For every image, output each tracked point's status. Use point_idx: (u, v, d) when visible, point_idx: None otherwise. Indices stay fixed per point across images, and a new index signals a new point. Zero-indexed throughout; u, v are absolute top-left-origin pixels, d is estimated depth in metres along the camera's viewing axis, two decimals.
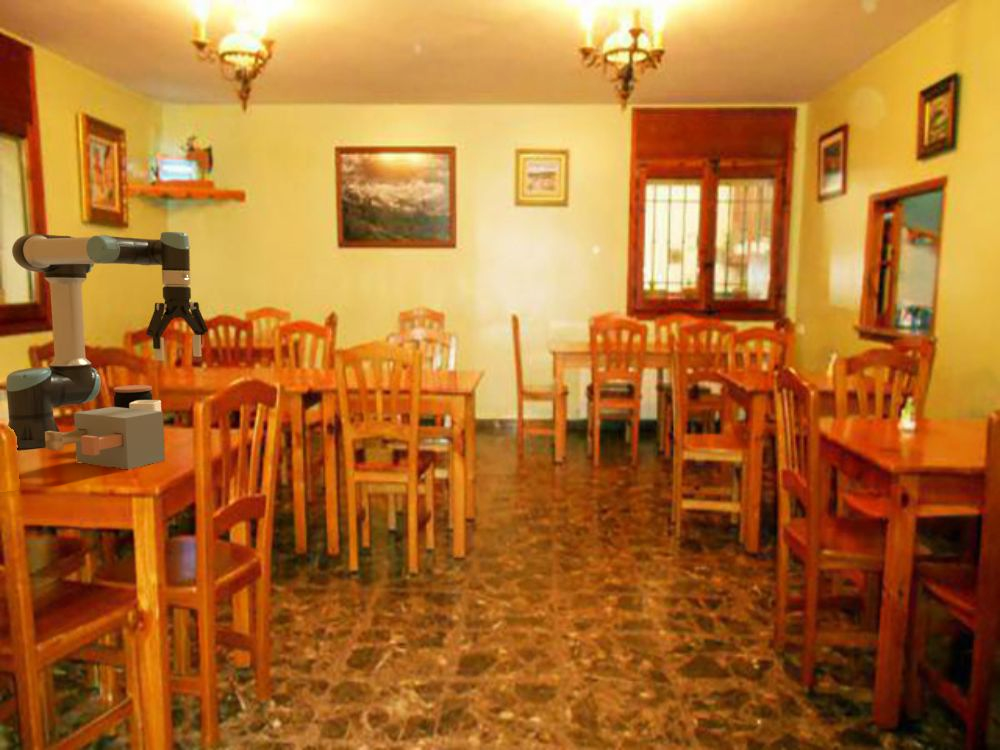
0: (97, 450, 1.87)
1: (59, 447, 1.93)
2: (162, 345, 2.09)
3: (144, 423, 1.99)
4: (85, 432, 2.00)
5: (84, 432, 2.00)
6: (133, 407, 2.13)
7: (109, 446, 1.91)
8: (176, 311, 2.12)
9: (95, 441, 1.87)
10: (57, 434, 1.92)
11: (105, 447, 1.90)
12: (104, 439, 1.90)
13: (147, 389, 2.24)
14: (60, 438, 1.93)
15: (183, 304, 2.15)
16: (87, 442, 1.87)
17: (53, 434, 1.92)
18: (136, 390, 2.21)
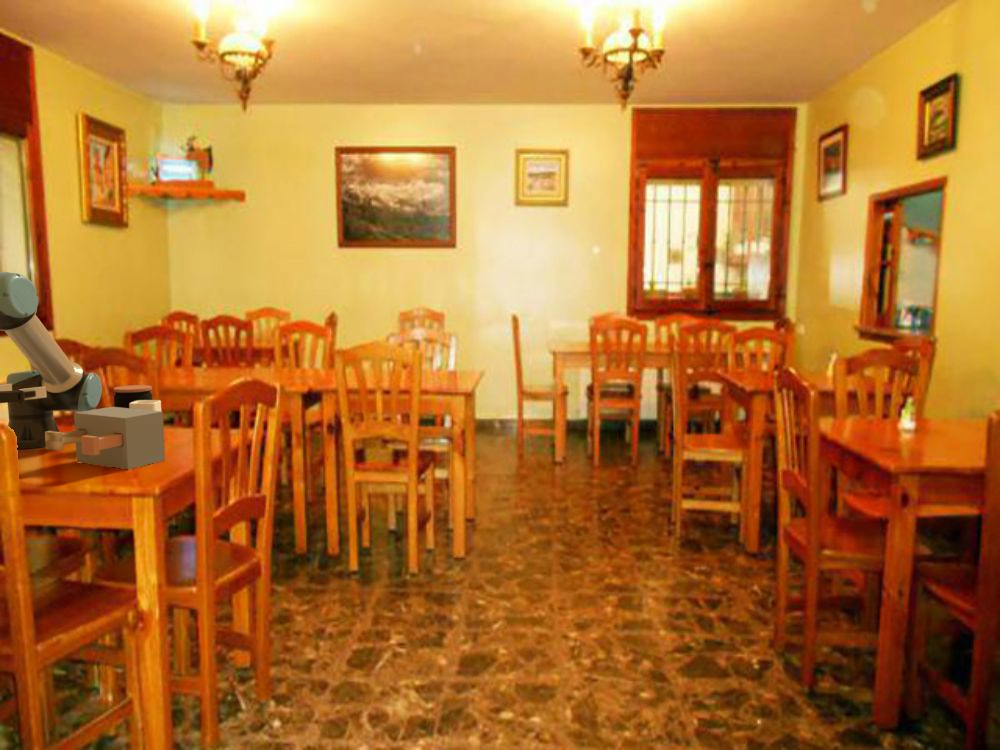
0: (97, 450, 1.87)
1: (59, 447, 1.93)
2: None
3: (144, 423, 1.99)
4: (85, 432, 2.00)
5: (84, 432, 2.00)
6: (133, 407, 2.13)
7: (109, 446, 1.91)
8: None
9: (95, 441, 1.87)
10: (57, 434, 1.92)
11: (105, 447, 1.90)
12: (104, 439, 1.90)
13: (147, 389, 2.24)
14: (60, 438, 1.93)
15: None
16: (87, 442, 1.87)
17: (53, 434, 1.92)
18: (136, 390, 2.21)
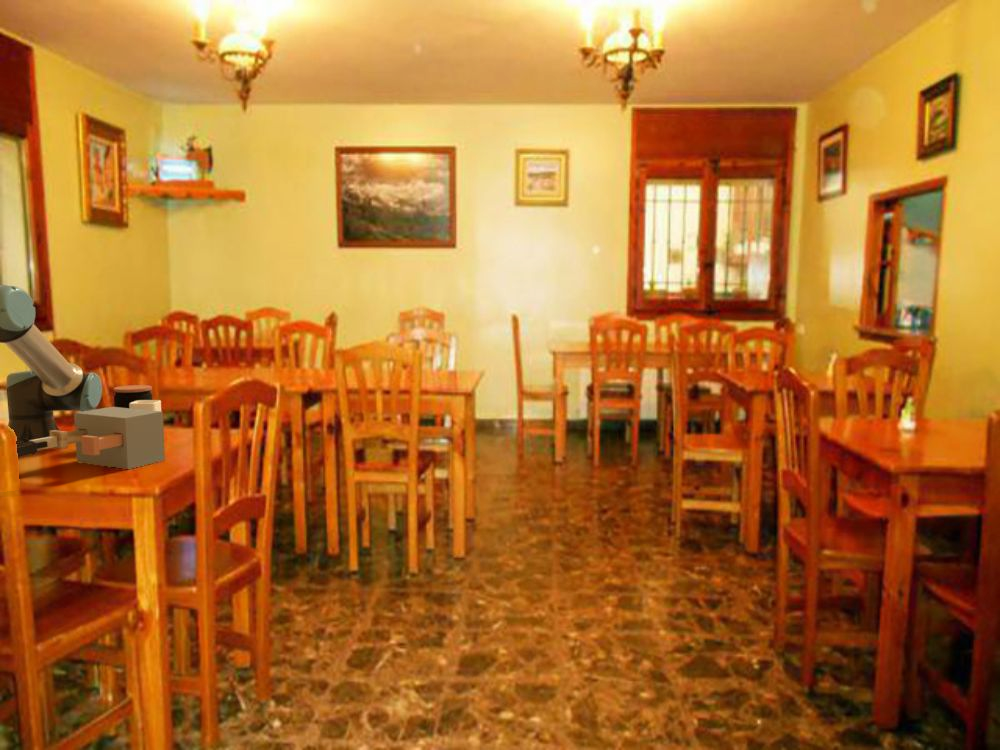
0: (97, 450, 1.87)
1: (64, 446, 1.94)
2: None
3: (144, 423, 1.99)
4: None
5: None
6: (133, 407, 2.13)
7: (109, 446, 1.91)
8: None
9: (95, 441, 1.87)
10: (62, 433, 1.93)
11: (105, 447, 1.90)
12: (104, 439, 1.90)
13: (147, 389, 2.24)
14: (65, 437, 1.94)
15: None
16: (87, 442, 1.87)
17: (58, 433, 1.93)
18: (136, 390, 2.21)
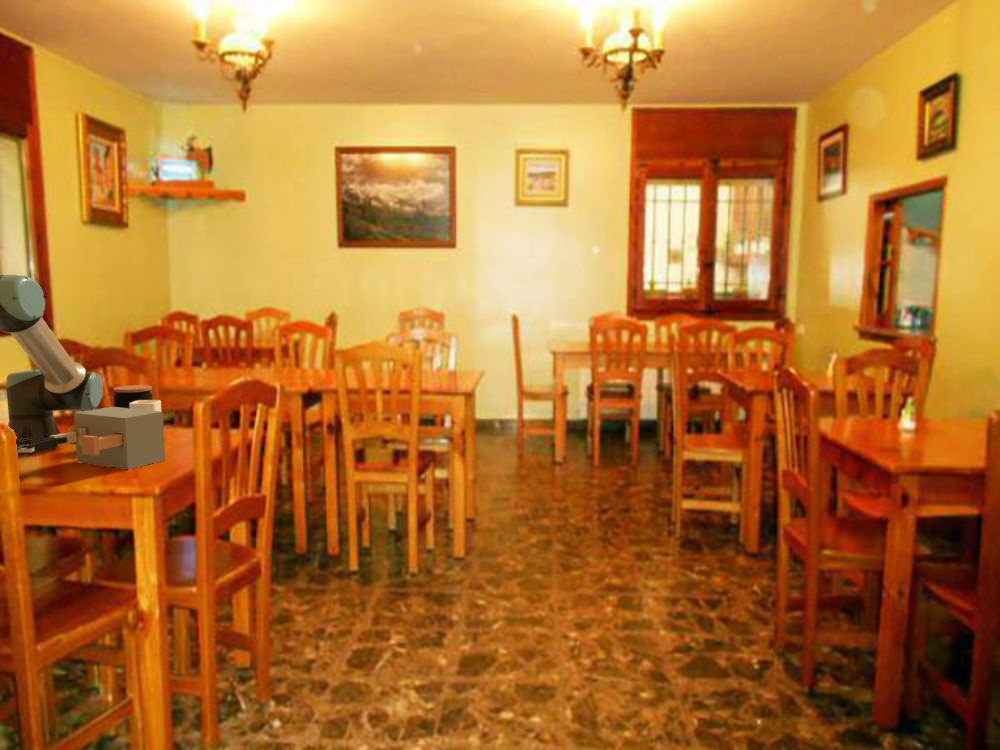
0: (97, 450, 1.87)
1: None
2: None
3: (144, 423, 1.99)
4: None
5: None
6: (133, 407, 2.13)
7: (109, 446, 1.91)
8: None
9: (95, 441, 1.87)
10: (81, 430, 1.98)
11: (105, 447, 1.90)
12: (104, 439, 1.90)
13: (147, 389, 2.24)
14: (84, 434, 1.99)
15: None
16: (87, 442, 1.87)
17: (77, 430, 1.98)
18: (136, 390, 2.21)
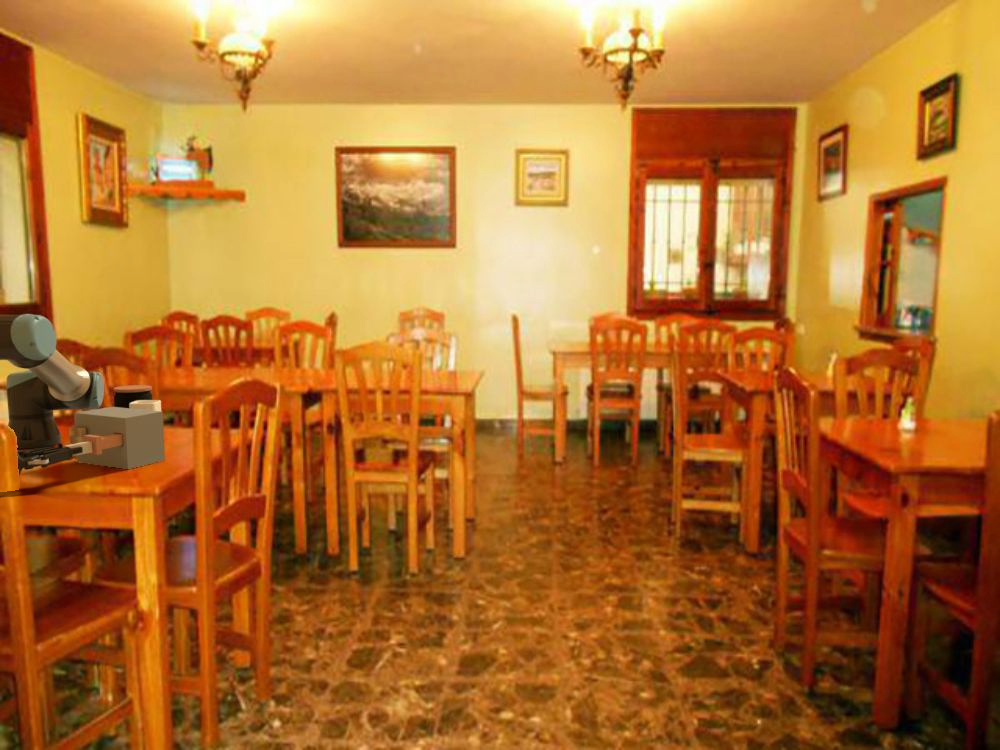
0: (100, 449, 1.88)
1: None
2: None
3: (144, 423, 1.99)
4: None
5: None
6: (133, 407, 2.13)
7: (112, 445, 1.92)
8: None
9: (98, 440, 1.87)
10: (81, 430, 1.98)
11: (108, 446, 1.91)
12: (107, 438, 1.91)
13: (147, 389, 2.24)
14: (84, 434, 1.99)
15: None
16: None
17: (77, 430, 1.98)
18: (136, 390, 2.21)
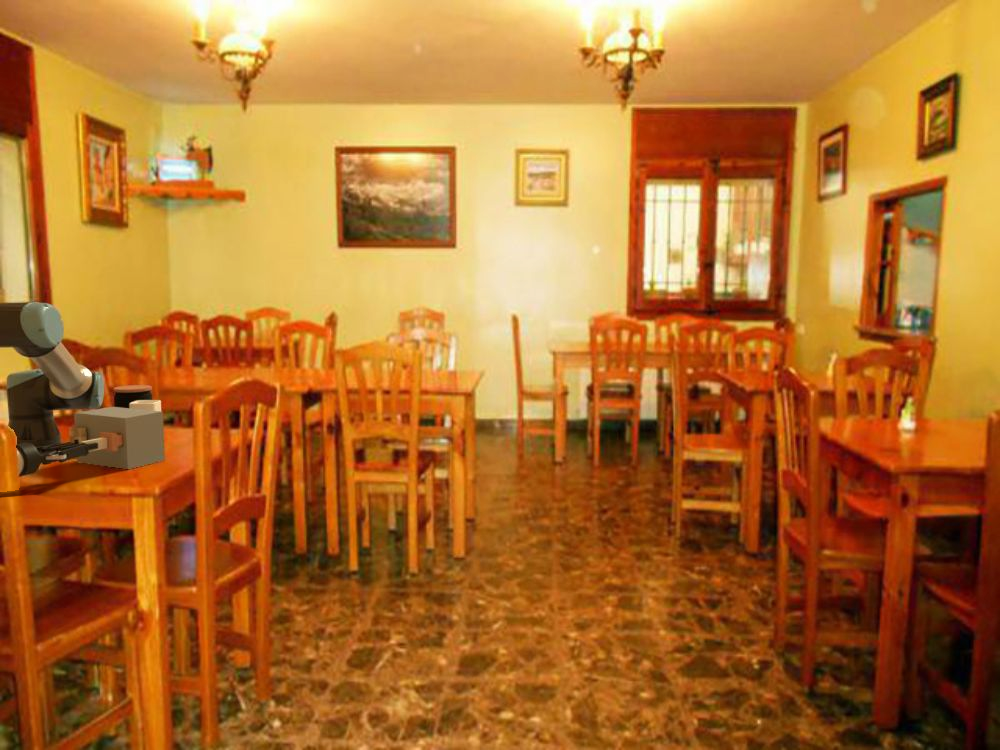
0: (115, 446, 1.92)
1: None
2: None
3: (144, 423, 1.99)
4: None
5: None
6: (133, 407, 2.13)
7: None
8: None
9: (113, 437, 1.91)
10: (81, 430, 1.98)
11: None
12: (122, 435, 1.95)
13: (147, 389, 2.24)
14: (84, 434, 1.99)
15: None
16: None
17: (77, 430, 1.98)
18: (136, 390, 2.21)
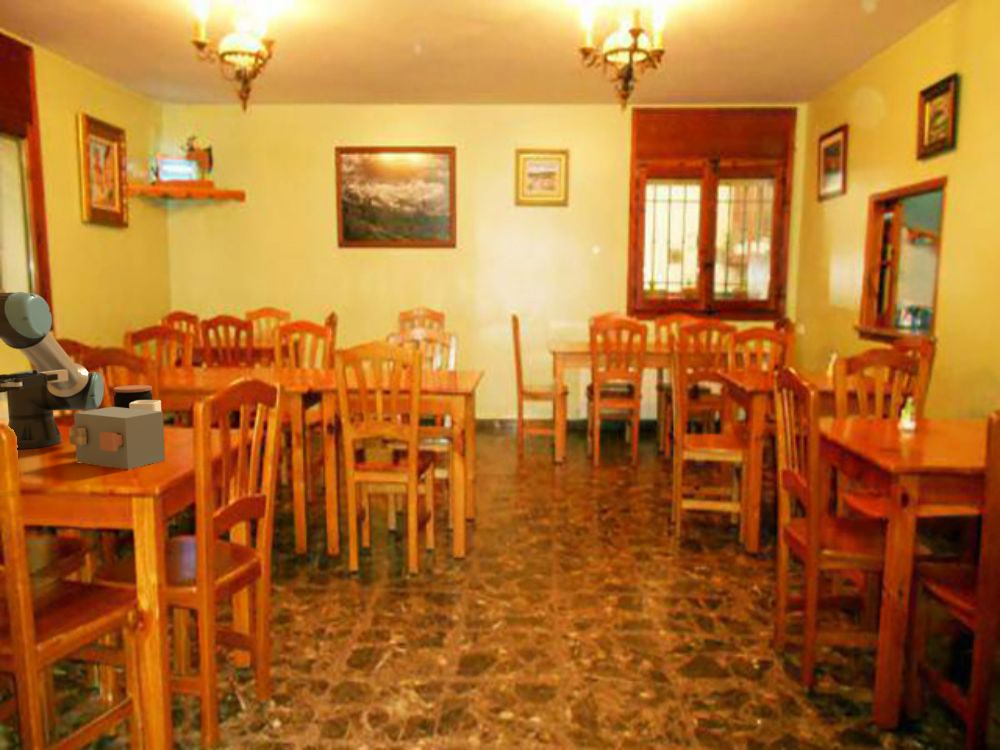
0: (115, 446, 1.92)
1: (83, 442, 1.99)
2: None
3: (144, 423, 1.99)
4: None
5: None
6: (133, 407, 2.13)
7: None
8: None
9: (113, 437, 1.91)
10: (81, 430, 1.98)
11: None
12: (122, 435, 1.95)
13: (147, 389, 2.24)
14: (84, 434, 1.99)
15: None
16: (106, 439, 1.92)
17: (77, 430, 1.98)
18: (136, 390, 2.21)
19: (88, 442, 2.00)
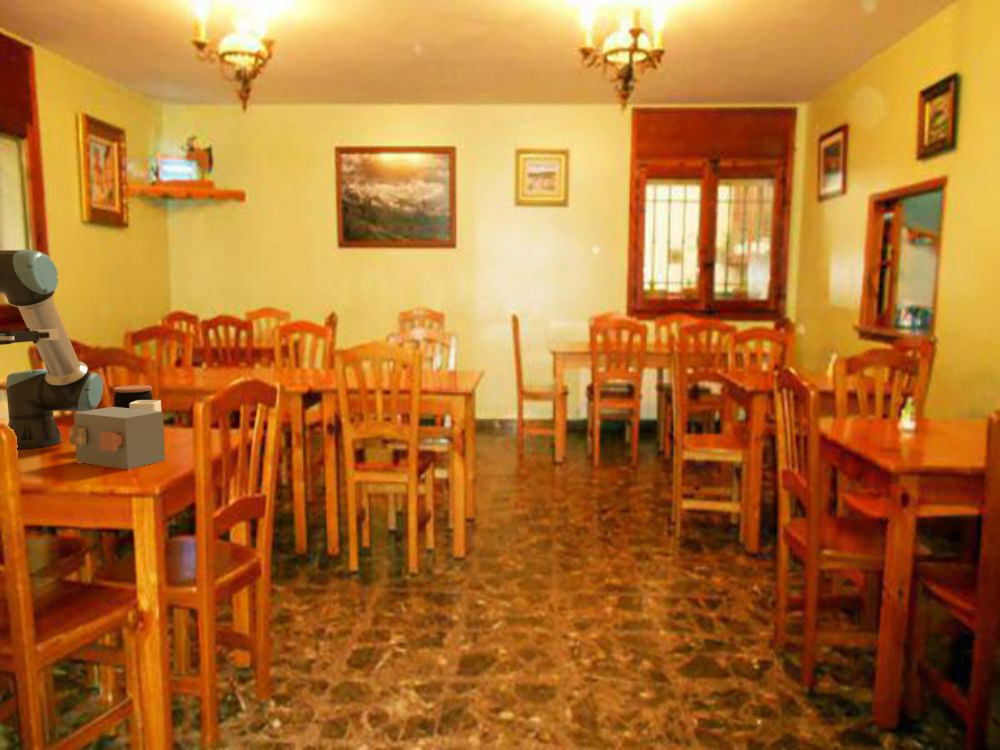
0: (115, 446, 1.92)
1: (83, 442, 1.99)
2: None
3: (144, 423, 1.99)
4: None
5: None
6: (133, 407, 2.13)
7: None
8: None
9: (113, 437, 1.91)
10: (81, 430, 1.98)
11: None
12: (122, 435, 1.95)
13: (147, 389, 2.24)
14: (84, 434, 1.99)
15: None
16: (106, 439, 1.92)
17: (77, 430, 1.98)
18: (136, 390, 2.21)
19: (88, 442, 2.00)
